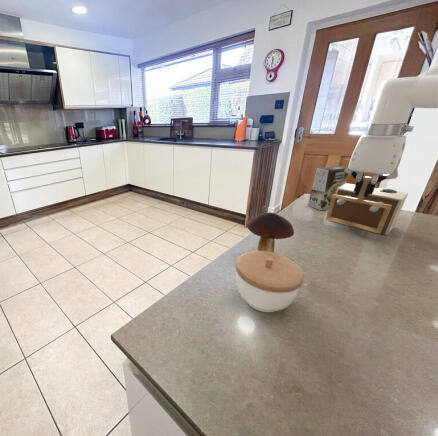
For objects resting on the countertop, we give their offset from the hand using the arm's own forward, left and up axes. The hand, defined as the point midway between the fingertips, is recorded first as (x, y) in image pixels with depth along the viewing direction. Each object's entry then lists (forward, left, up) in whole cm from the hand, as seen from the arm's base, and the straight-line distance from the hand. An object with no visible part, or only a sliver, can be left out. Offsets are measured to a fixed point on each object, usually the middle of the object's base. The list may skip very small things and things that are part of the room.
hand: (362, 194), depth 71 cm
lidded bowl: (+2, +49, -13) cm, 51 cm away
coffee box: (+14, -18, -13) cm, 27 cm away
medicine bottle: (-4, -15, -13) cm, 20 cm away
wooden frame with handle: (0, 0, -11) cm, 11 cm away
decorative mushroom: (+9, +36, -13) cm, 39 cm away
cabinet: (0, -6, -13) cm, 14 cm away
